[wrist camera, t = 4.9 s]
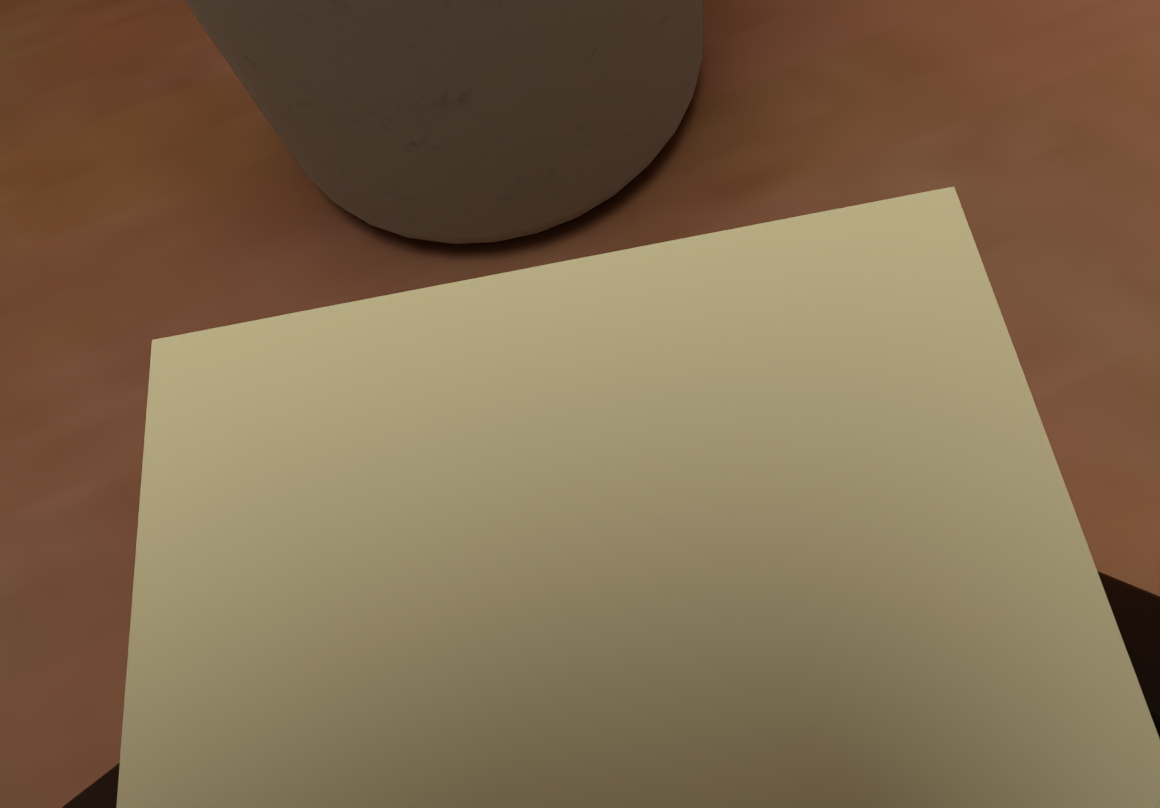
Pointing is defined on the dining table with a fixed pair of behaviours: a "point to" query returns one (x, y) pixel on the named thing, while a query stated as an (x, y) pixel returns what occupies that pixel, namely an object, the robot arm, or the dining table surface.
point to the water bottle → (465, 102)
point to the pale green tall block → (627, 544)
